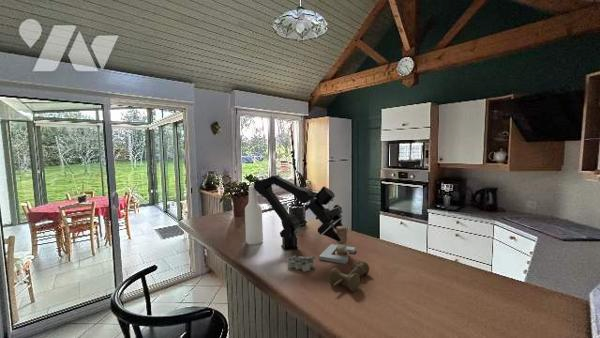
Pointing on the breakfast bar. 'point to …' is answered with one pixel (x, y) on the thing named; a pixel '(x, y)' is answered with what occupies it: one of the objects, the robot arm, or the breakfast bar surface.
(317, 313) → the breakfast bar surface
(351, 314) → the breakfast bar surface
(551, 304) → the breakfast bar surface
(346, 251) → the bobbin
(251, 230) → the alcohol
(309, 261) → the egg carton
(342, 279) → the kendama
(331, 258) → the notched board
